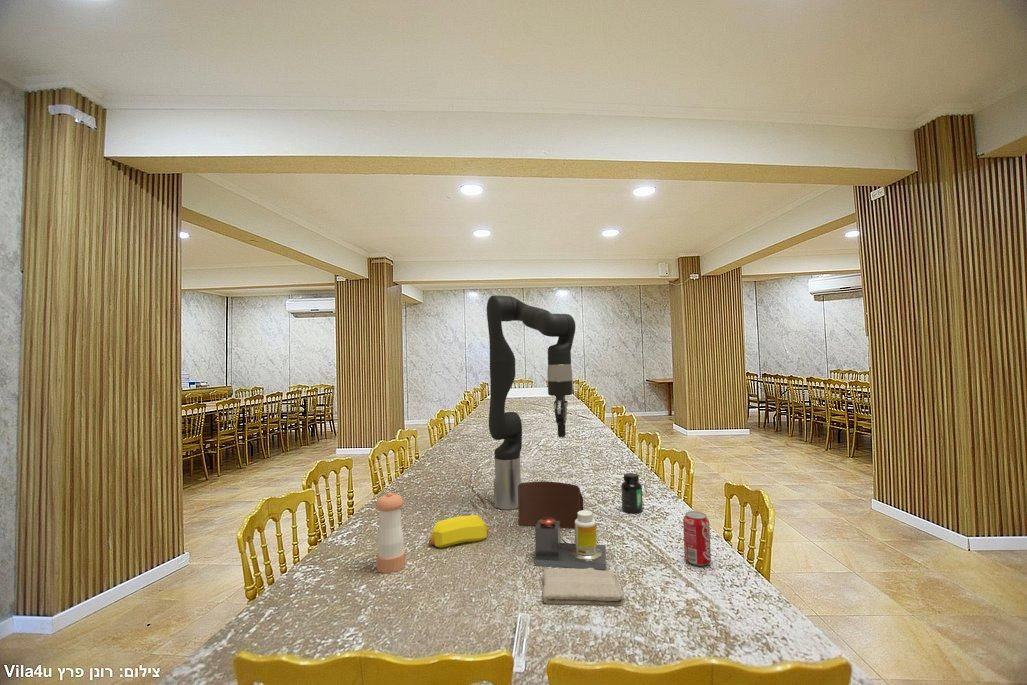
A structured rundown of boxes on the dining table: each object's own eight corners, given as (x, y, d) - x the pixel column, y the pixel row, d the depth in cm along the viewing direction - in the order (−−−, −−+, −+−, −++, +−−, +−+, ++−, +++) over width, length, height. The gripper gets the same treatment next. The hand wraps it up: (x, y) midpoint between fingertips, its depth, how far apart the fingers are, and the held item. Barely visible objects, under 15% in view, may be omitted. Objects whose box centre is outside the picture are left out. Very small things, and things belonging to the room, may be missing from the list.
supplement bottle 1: (601, 554, 117) (599, 514, 117) (582, 558, 115) (580, 517, 115) (590, 545, 122) (588, 507, 123) (571, 549, 120) (570, 510, 121)
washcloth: (626, 608, 96) (625, 594, 96) (542, 607, 97) (541, 592, 98) (617, 580, 108) (617, 567, 108) (542, 579, 109) (542, 566, 109)
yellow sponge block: (493, 540, 132) (485, 531, 139) (492, 517, 132) (484, 509, 139) (432, 552, 126) (426, 541, 133) (431, 528, 126) (426, 519, 133)
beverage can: (710, 557, 117) (708, 511, 117) (712, 569, 111) (710, 520, 111) (684, 555, 119) (682, 509, 119) (685, 565, 113) (683, 517, 113)
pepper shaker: (379, 575, 113) (377, 498, 113) (374, 564, 119) (372, 491, 119) (408, 568, 116) (406, 493, 116) (401, 557, 122) (400, 486, 123)
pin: (540, 552, 119) (539, 522, 119) (542, 546, 123) (541, 516, 123) (555, 553, 118) (554, 522, 118) (556, 546, 122) (555, 517, 122)
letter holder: (581, 529, 138) (579, 483, 138) (518, 525, 143) (516, 481, 143) (584, 518, 148) (582, 474, 148) (525, 514, 153) (523, 472, 153)
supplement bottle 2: (645, 513, 150) (643, 477, 150) (624, 514, 150) (623, 477, 150) (639, 506, 156) (638, 471, 157) (620, 507, 156) (618, 472, 157)
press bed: (534, 565, 116) (533, 532, 116) (540, 547, 126) (539, 516, 127) (606, 570, 112) (604, 535, 112) (605, 550, 123) (604, 519, 123)
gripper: (550, 378, 144) (551, 432, 143) (544, 381, 131) (546, 440, 130) (573, 377, 142) (575, 432, 142) (570, 380, 129) (572, 441, 129)
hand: (561, 436), depth 136 cm, fingers closed
